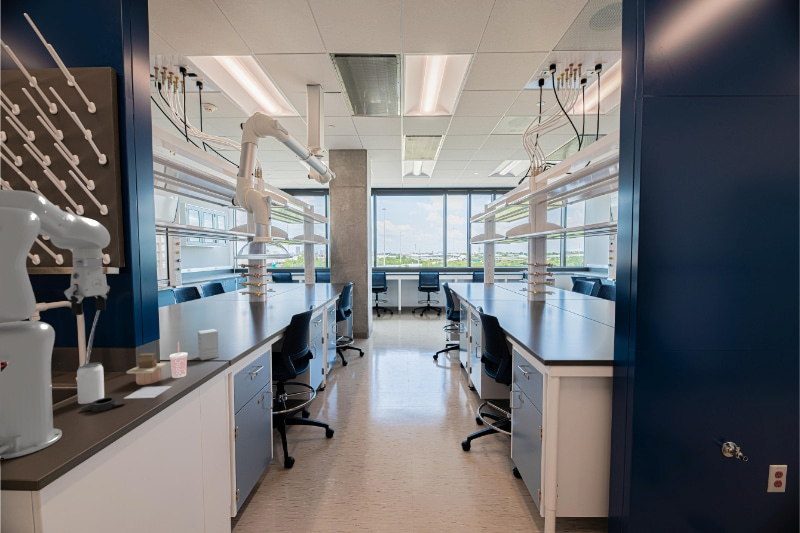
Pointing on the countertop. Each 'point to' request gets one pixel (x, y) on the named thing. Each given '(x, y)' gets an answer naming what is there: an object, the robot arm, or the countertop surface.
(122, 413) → the countertop surface
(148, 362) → the lid
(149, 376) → the bowl
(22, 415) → the robot arm
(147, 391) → the mat
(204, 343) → the supplement box
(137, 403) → the countertop surface
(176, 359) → the beverage cup
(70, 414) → the countertop surface
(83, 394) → the can
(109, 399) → the black winged knob
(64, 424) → the countertop surface
